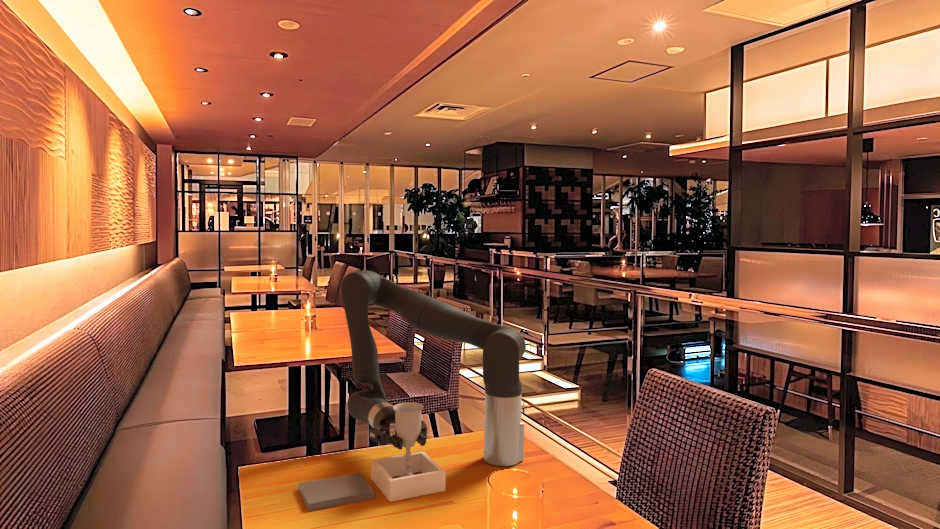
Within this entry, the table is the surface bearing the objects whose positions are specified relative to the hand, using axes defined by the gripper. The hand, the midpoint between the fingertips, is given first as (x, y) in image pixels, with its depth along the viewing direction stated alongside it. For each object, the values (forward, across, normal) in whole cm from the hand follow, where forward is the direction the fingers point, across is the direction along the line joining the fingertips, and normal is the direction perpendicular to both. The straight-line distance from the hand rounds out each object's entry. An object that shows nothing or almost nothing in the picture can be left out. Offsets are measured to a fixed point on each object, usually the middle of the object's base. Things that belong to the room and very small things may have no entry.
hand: (412, 443), depth 135 cm
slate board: (-5, -16, +10) cm, 20 cm away
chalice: (-3, 0, +11) cm, 11 cm away
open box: (-3, 0, +10) cm, 11 cm away
